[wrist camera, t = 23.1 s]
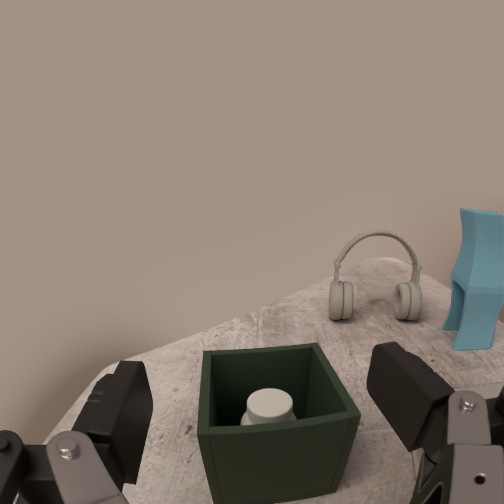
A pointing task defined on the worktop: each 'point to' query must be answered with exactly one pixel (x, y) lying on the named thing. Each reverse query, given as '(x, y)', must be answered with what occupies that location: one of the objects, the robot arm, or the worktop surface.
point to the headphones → (404, 295)
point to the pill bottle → (268, 407)
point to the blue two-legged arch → (477, 280)
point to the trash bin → (273, 425)
